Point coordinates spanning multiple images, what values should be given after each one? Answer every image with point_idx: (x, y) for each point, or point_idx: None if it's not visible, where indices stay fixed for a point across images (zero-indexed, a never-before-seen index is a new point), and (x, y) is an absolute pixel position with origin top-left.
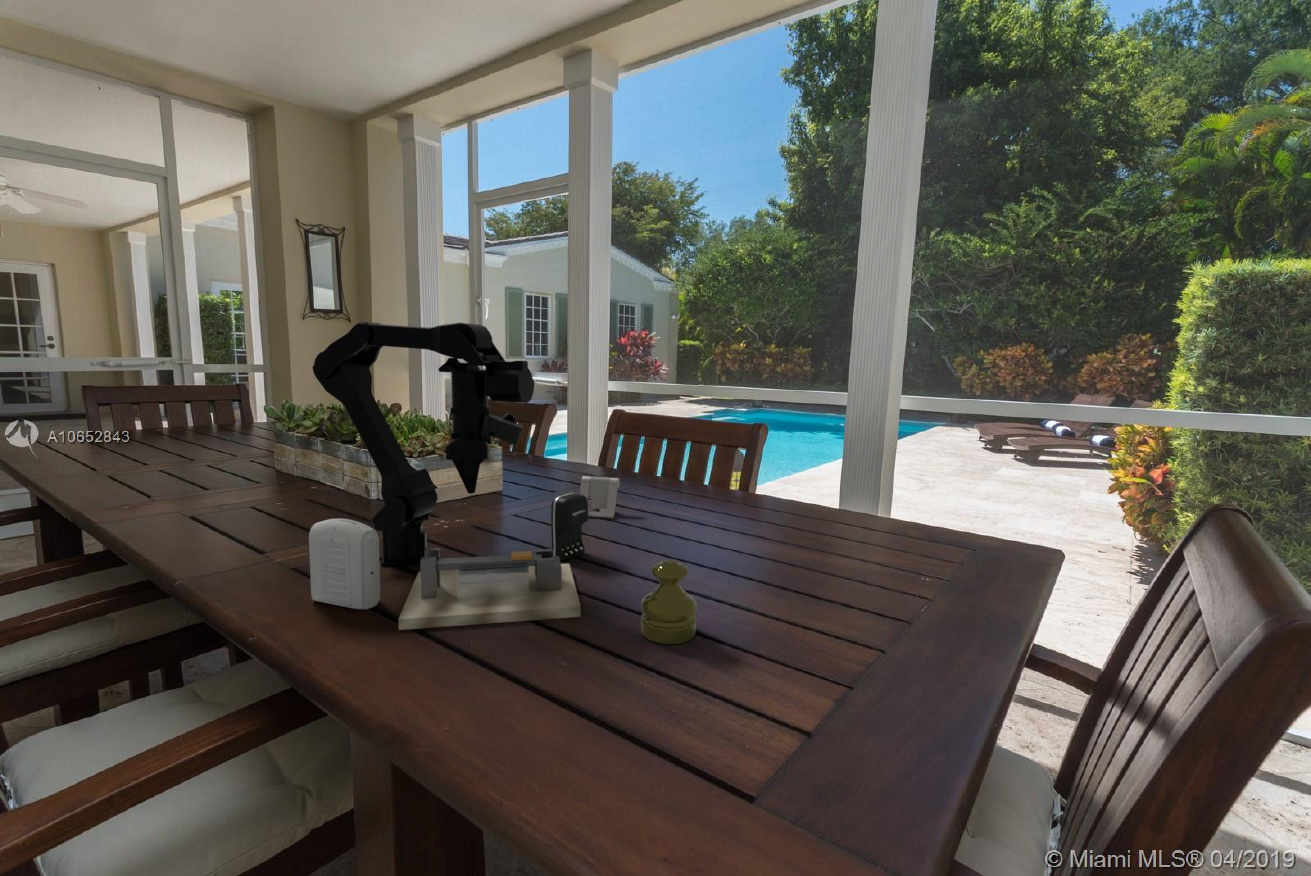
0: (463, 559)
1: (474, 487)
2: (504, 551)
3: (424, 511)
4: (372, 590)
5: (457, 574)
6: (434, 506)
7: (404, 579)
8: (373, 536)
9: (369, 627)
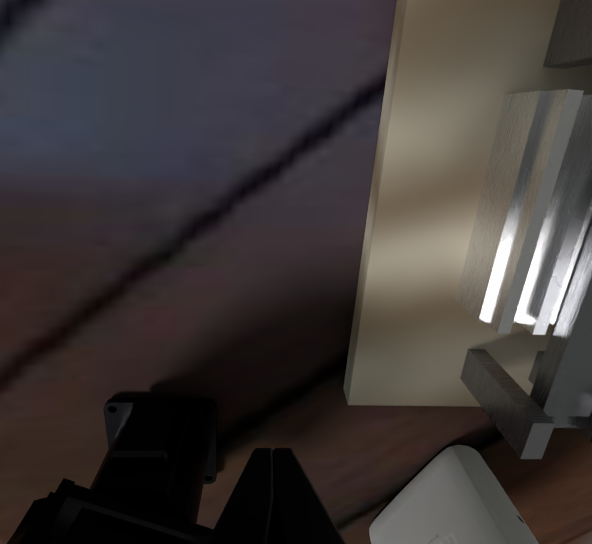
0: (590, 336)
1: (310, 487)
2: (108, 154)
3: (156, 537)
4: (495, 480)
5: (405, 312)
6: (84, 519)
7: (324, 417)
8: None
9: (568, 437)
